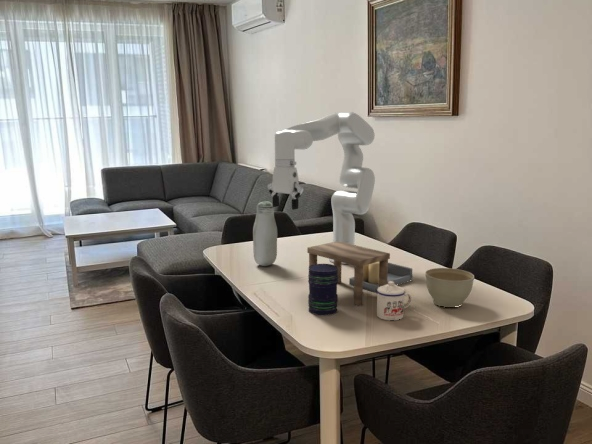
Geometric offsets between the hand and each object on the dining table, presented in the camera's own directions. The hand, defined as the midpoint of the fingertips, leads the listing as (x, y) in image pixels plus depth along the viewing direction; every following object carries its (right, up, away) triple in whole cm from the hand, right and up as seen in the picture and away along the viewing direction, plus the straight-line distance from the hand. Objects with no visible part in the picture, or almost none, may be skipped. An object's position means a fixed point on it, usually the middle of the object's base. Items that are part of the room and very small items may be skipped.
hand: (285, 207), depth 221 cm
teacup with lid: (+36, -36, -35) cm, 62 cm away
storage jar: (+13, -35, -30) cm, 48 cm away
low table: (+23, -32, -12) cm, 41 cm away
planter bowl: (+57, -34, -24) cm, 71 cm away
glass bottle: (-9, -25, +26) cm, 37 cm away
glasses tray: (+37, -29, +1) cm, 47 cm away
